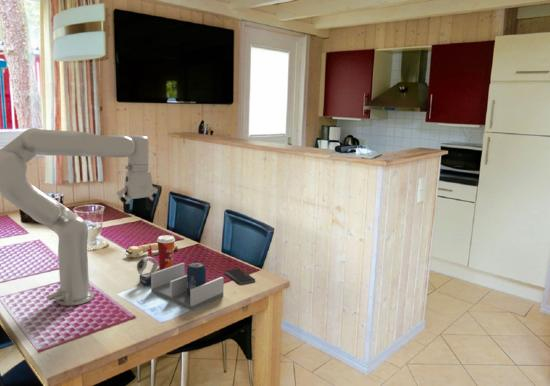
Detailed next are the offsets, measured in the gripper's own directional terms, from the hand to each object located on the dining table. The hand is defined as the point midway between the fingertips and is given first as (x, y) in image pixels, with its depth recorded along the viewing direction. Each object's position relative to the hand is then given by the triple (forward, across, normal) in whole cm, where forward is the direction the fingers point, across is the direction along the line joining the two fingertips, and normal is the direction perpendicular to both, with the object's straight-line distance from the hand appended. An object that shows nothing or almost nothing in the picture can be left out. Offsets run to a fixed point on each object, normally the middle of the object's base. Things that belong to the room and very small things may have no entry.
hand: (138, 211), depth 170 cm
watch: (+30, +3, -2) cm, 30 cm away
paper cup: (+30, +19, +6) cm, 36 cm away
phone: (+29, +34, -24) cm, 51 cm away
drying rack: (+30, +8, -21) cm, 37 cm away
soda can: (+28, +8, -27) cm, 40 cm away
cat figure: (+30, +25, +26) cm, 47 cm away
